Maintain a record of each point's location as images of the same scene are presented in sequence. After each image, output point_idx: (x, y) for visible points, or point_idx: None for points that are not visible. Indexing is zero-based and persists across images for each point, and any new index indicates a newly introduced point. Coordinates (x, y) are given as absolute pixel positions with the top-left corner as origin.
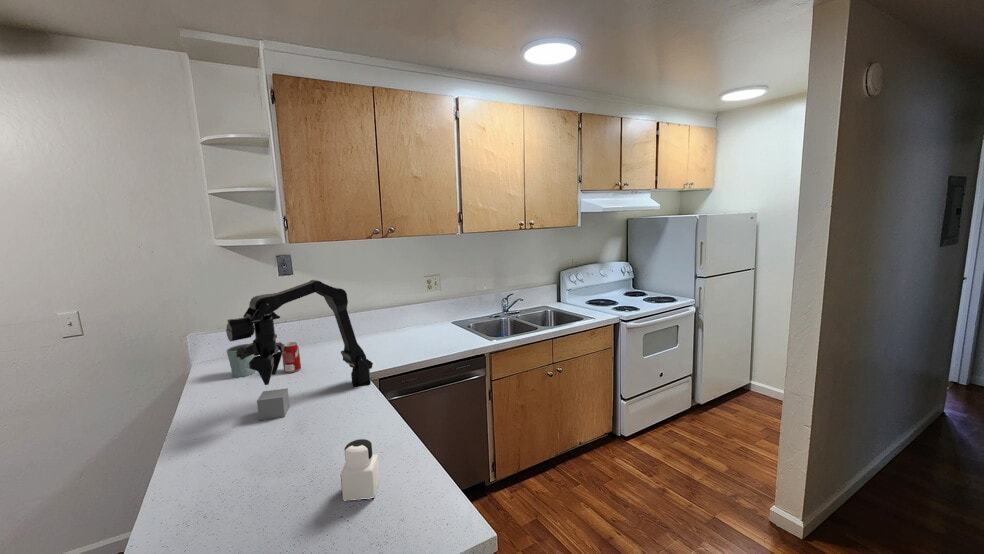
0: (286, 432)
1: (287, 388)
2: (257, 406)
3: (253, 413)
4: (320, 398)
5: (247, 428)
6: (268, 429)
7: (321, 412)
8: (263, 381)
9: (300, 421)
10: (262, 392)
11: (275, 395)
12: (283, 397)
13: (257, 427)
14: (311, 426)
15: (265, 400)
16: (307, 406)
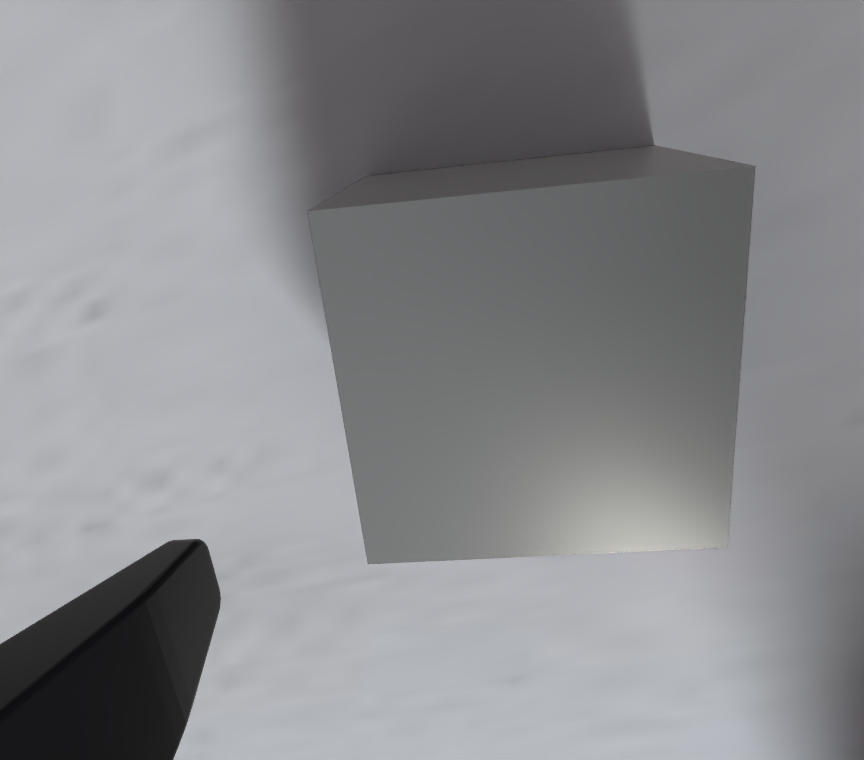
0: (84, 520)
1: (723, 545)
2: (330, 197)
3: (603, 5)
4: (760, 646)
5: (183, 111)
6: (146, 352)
7: (422, 696)
8: (80, 604)
9: (276, 579)
10: (696, 173)
11: (467, 449)
12: (412, 549)
13: (197, 222)
14: None
15: (334, 339)
16: (597, 572)
